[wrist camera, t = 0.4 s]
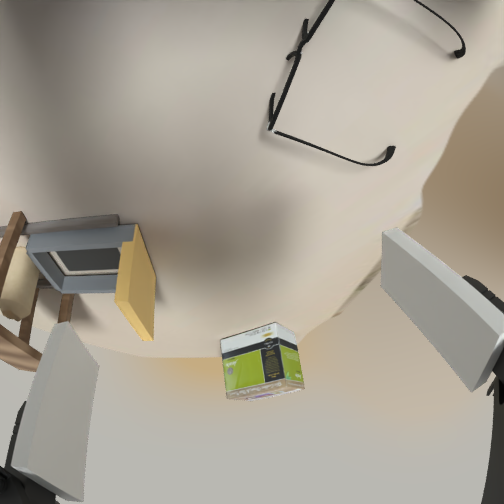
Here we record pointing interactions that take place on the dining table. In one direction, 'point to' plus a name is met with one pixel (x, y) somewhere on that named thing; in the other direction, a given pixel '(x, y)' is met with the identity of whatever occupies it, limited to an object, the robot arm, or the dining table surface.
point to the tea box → (261, 363)
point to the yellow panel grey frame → (123, 285)
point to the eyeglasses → (297, 54)
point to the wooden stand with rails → (3, 341)
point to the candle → (19, 286)
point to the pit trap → (89, 260)
